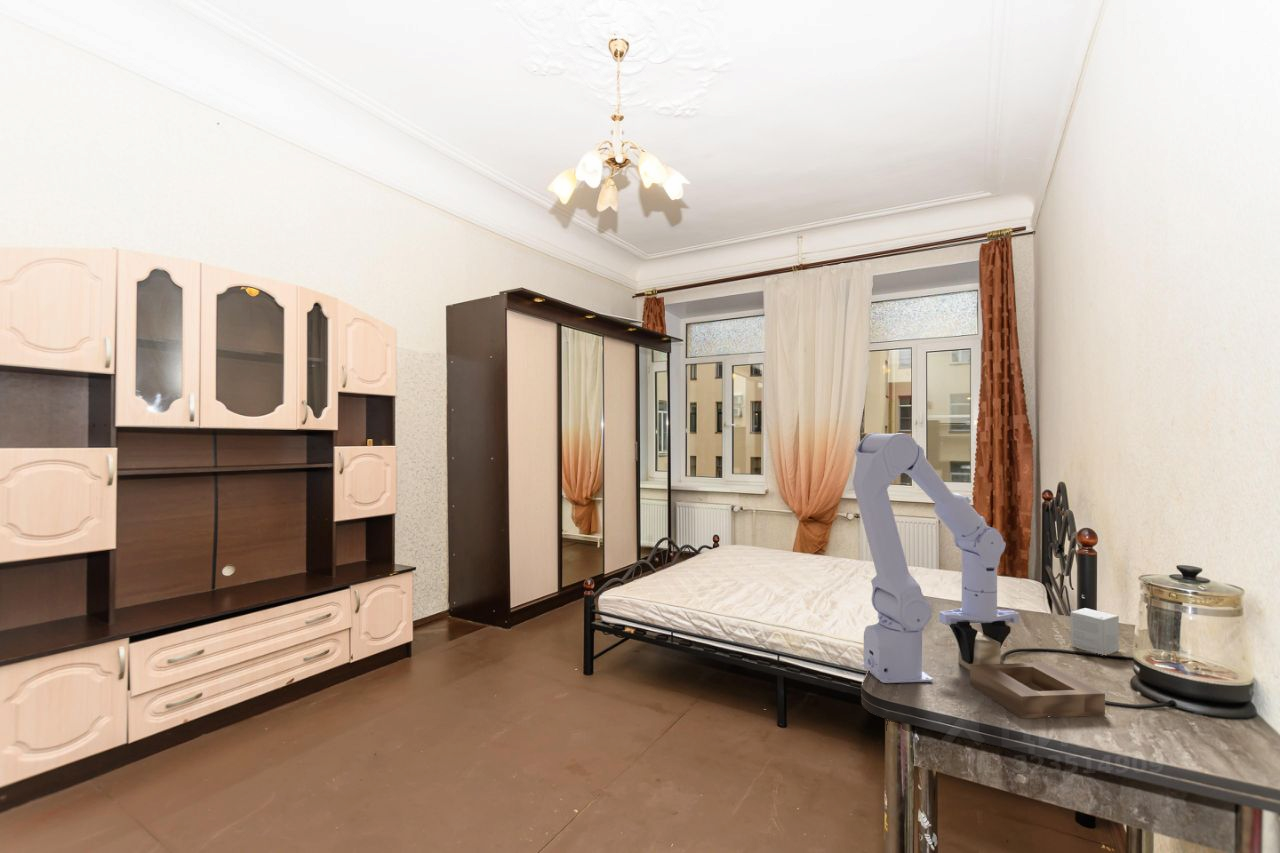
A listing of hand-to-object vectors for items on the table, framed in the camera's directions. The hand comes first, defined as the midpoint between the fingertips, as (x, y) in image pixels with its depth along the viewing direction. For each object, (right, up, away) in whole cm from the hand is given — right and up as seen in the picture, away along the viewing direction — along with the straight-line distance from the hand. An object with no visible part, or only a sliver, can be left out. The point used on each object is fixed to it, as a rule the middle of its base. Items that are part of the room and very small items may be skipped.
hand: (978, 661), depth 107 cm
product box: (+30, -2, +11) cm, 32 cm away
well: (+2, -1, -12) cm, 12 cm away
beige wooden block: (0, -2, 0) cm, 2 cm away
